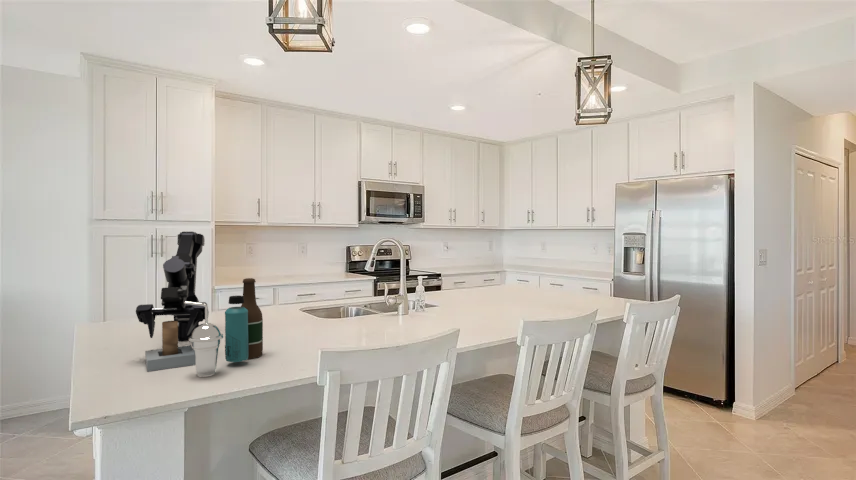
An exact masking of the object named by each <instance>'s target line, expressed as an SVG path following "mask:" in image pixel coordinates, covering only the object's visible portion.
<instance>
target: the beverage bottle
mask: <svg viewBox="0 0 856 480" xmlns="http://www.w3.org/2000/svg"><path fill="white" fill-rule="evenodd" d="M242 303H244V297H243V295H230V296H229V297H228V305H242ZM224 321H225V323H224V325H225V326H224V331H225V332H224V334H225V335H224V339H225V340H224V357H225V360H226V362H229V363H238V362H239V363H240V362H245V361H247V360H249V359H248V357H249V349H248V347H249V346H248V345H249V343H248V337H249V335H248V310H247V309H246V308H245V307H241V306H231V307H228V308H227V309H226V310H225V311H224Z"/></svg>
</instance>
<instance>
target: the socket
mask: <svg viewBox="0 0 856 480" xmlns="http://www.w3.org/2000/svg"><path fill="white" fill-rule="evenodd" d="M144 353H145V356H144V358H145V361H144V362H145V367H146V371H147V372H148V373H149V372H153V371H154V372H155V371H160V370H169V369H174V368H175V369H176V368H181V367H188V366H196V364H195V356H194V350H193V347H192V344H191V345H183V346H182V345H181V346H178V354H175V355H167V356H163V354H162V348H157V349H149V350H145V351H144Z"/></svg>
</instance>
